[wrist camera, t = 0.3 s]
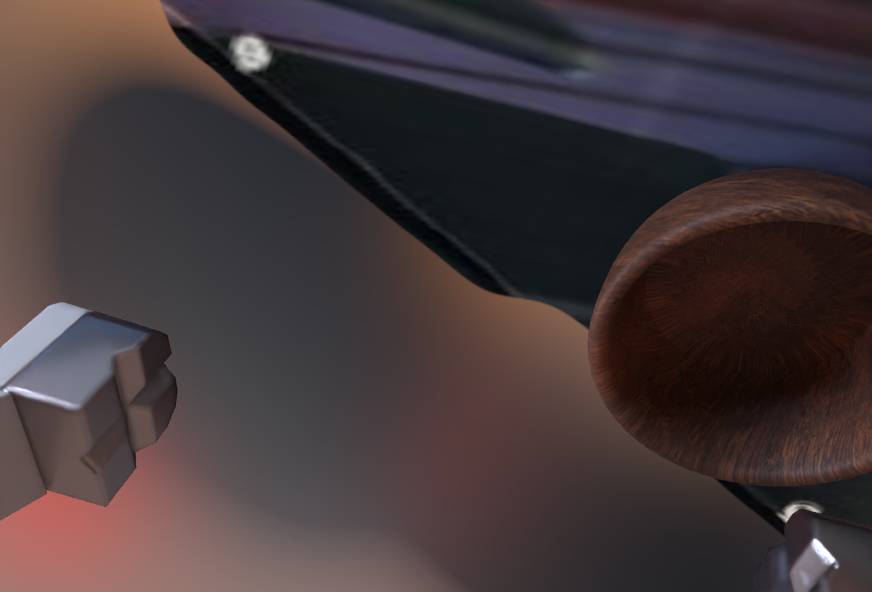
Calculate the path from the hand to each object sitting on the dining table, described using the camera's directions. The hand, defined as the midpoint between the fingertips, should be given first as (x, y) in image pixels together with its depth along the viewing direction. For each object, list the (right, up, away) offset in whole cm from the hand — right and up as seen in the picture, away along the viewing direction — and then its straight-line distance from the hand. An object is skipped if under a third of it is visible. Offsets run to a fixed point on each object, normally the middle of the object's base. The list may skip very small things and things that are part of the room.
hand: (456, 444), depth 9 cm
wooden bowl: (+26, +3, +49) cm, 56 cm away
